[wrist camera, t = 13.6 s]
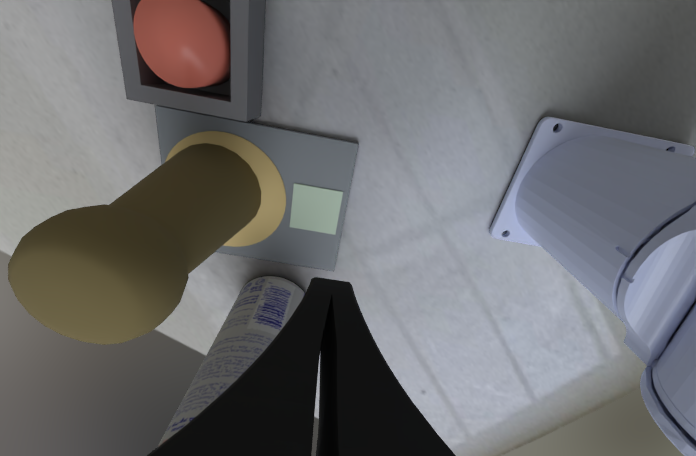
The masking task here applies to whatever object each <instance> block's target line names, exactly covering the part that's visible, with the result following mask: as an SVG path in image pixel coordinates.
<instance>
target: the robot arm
mask: <svg viewBox="0 0 696 456" xmlns="http://www.w3.org/2000/svg"><path fill="white" fill-rule="evenodd" d="M556 124H558V129H557V130H556V131H554V132H553V127H554V126H555V125H556ZM667 148H669V149H668V151H666V149H667ZM694 152H695V148H694V147H693V146H691V145H687V144H682V143H677V142H672V141H667V140H662V139H658V138H653V137H648V136H643V135H638V134H633V133H628V132H623V131H618V130H613V129H608V128H603V127H598V126H594V125H589V124H584V123H579V122H574V121H569V120H564V119H559V118H554V117H545V118H543V119H541V120H540V121H539V123H538V125H537V127H536V129H535V131H534V133H533V136H532V138H531V140H530V142H529V144H528V147H527V149H526V151H525V153H524V155H523V157H522V160H521V162H520V164H519V166H518V168H517V171H516V173H515V175H514V177H513V179H512V182H511V184H510V186H509V188H508V190H507V192H506V195H505V197H504V199H503V201H502V203H501V206H500V208H499V210H498V212H497V214H496V217H495V219H494V221H493V223H492V225H491V227H490V230H489V233H490V235H491V236H492V237H493V238H495V239H501V240H506V241H512V242H518V243H524V244H529V245H535V246H541V247H542V248H543V249H544V250H546V251H547V252H548V253H549V254H550V255H551V256H552V257H553V258H554V259H555V260H556V261H557V262H559V263H560V264H561V265H562V266H563V267H564V268H565V269H566V270H567V271H568V272H569V273H570V274H572V275H573V276H574V277H575V278H576V279H577V280H578V281H579V282H580V283H581V284H582V285H583V286H584V287H586V288H587V289H588V290H589V291H590V292H591V293H592V294H593V295H594V296H595V297H596V298H597V299H599V300H600V301H601V302H602V303H603V304H604V305H605V306H606V307H607V308H608V309H609V310H610V311H612V312H613V313H614V314H615V315H616V316H617V317H618V318H619V319H620V320H621V321H622V322H623V323H624V324H625V326H626V329H627V333H626V337H625V339H624V343H625V344H626V345H627V346H628V347H629V348H630V349H631V350H632V351H633V352H634V353H635V354H636V355H637V356H638V357H639V358H640V359H641V360H642V361H643V362H644V363H645V364H646V365H647V367H646V368H645V370H644V371H643V373H642V376H641V382H640V387H641V394H642V397H643V400H644V402H645V405H646V407H647V409H648V411H649V412H650V414H651V416H652V418H653V419H654V421H655V422H656V423H657V425H658V426H659V427H660V429H661V430H662V431H663V433H664V434H665V435H666V437H667V438H668V439H669V440H670V441H671V442H672V443H673V444H674V445H675V447H676V448H677V449H678V450H679V451H680V452H681V453H682V454H683V455H684V456H696V158H695V157H692V156H693V154H694ZM504 231H507V232H506V233H505V234H502V233H503V232H504ZM320 351H321V354H320ZM319 355H320V399H319V429H318V440H317V450H316V456H455V454H454V453H453V452H452V451H451V450H450V448H449V447H448V446H447V445H446V444H445V443H444V441H443V440H442V439H441V438H440V437H439V435H438V434H437V433H436V432H435V431H434V429H433V428H432V427H431V425H430V424H429V423H428V421H427V420H426V419H425V418H424V416H423V415H422V414H421V412H420V411H419V410H418V408H417V407H416V406H415V405H414V403H413V402H412V401H411V399H410V398H409V396H408V395H407V393H406V392H405V391H404V389H403V388H402V386H401V385H400V383H399V382H398V380H397V379H396V377H395V376H394V374H393V372H392V371H391V369H390V368H389V366H388V364H387V363H386V361H385V359H384V357H383V356H382V354H381V352H380V350H379V348H378V347H377V345H376V343H375V341H374V339H373V337H372V335H371V333H370V331H369V329H368V326H367V324H366V322H365V320H364V318H363V315H362V313H361V311H360V308H359V305H358V303H357V300H356V297H355V294H354V291H353V288H352V285H351V284H350V282H344V281H337V280H331V279H324V278H317V277H314V278H313V279H311V282H310V285H309V287H308V289H307V291H306V293H305V295H304V297H303V299H302V300H301V302H300V304H299V305H298V307H297V308H296V310H295V311H294V313H293V314H292V316H291V317H290V319H289V320H288V322H287V323H286V324H285V326H284V327H283V328H282V329H281V331H280V332H279V333H278V335H277V336H276V337H275V339H274V340H273V341H272V342H271V343H270V345H269V346H268V347H267V348H266V349H265V350H264V352H263V353H262V354H261V355H260V356H259V357H258V358H257V359H256V360H255V362H254V363H253V364H252V365H251V366H250V367H249V368H248V369H247V370H246V371H245V372H244V373H243V374H242V375H241V376H240V377H239V378H238V379H237V380H236V381H235V382H234V383H233V384H232V385H231V386H230V387H229V388H228V389H227V390H225V391H224V392H223V393H222V394H221V395H220V396H219V397H218V398H217V399H215V400H214V401H213V402H212V403H211V404H210V405H209V406H207V407H206V408H205V409H204V410H203V411H202V412H201V413H199V414H198V415H197V416H196V417H195V418H194V419H193V420H191V421H190V422H189V423H188V424H187V425H185V426H184V427H183V428H182V429H180V430H179V431H178V432H177V433H175V434H174V435H173V436H171V437H170V438H169V439H168V440H166V441H165V442H164V443H162V444H161V445H160V446H159V447H157V448H156V449H155V450H153V451H152V452H151V453H150V454H149V455H147V456H311V451H312V437H313V423H314V411H315V398H316V387H317V375H318V364H319Z"/></svg>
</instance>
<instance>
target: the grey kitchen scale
mask: <svg viewBox="0 0 696 456" xmlns="http://www.w3.org/2000/svg"><path fill="white" fill-rule="evenodd" d="M155 112H156V121H157V129H158V138H159V147H160V155H161V164H164V163H165V162H166V161H168V160H169V159H170V158H172V157H173V156H174V155H176V154H177V153H178V152H180V151H181V150H183V149H185V148H187V147H188V146H190V145H195V144H202V143H209V144H214V145H220V146H223V147H225V148H227V149H229V150H231V151H233V152H235V153H237V154H238V155H239V156H240V157H241V158H242V159H243V160H245V161H246V162H247V163H248V164H249V165H250V167H251V169H252V170H253V172H254V173H255V175H256V176H257V178H258V182H259V185H260V189H261V205H260V208H259V210H258V212H257V215H256V216H255V217H254V218H253V219H252V220H251V222H250V223H249V224H248V225H246V226H245V227H244V228H243V229H242V230H240V231H239V232H238V233H237V234H236V235H234V236H233V237H232V238H231V239H230V240H228V241H227V242H226V243H225V244H224V245H222V246H221V247H220V248H219V249H218V250H216V251H215V252H219V253H225V254H231V255H237V256H243V257H249V258H255V259H262V260H268V261H274V262H280V263H286V264H292V265H298V266H305V267H311V268H317V269H323V270H329V271H334V269H335V264H336V258H337V253H338V248H339V243H340V238H341V233H342V227H343V222H344V217H345V212H346V207H347V202H348V196H349V191H350V186H351V181H352V176H353V170H354V165H355V160H356V155H357V150H358V145H359V143H356V142H351V141H345V140H340V139H335V138H330V137H324V136H319V135H314V134H308V133H303V132H298V131H293V130H287V129H282V128H277V127H272V126H266V125H261V124H256V123H250V122H245V121H239V120H234V119H229V118H224V117H218V116H213V115H208V114H203V113H197V112H192V111H187V110H181V109H176V108H171V107H166V106H160V105H156V106H155Z"/></svg>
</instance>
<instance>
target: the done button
mask: <svg viewBox="0 0 696 456" xmlns="http://www.w3.org/2000/svg"><path fill="white" fill-rule="evenodd" d="M133 27H134V36H135V40H136V44H137V47H138V49H139V52H140V54H141V55H142V57H143V59H144V61H145V62H146V64H147V65H148V66H149V67H150V69H151V70H152V71H153V72H154V73H155V74H156V75H157V76H159V77H160V78H161V79H163V80H164V81H166V82H168V83H169V84H172V85H174V86H177V87H182V88H198V87H211V86H218V85H221V84H223V83H224V82H226V81H227V80H229V78H230V77H231V38H230V23H229V22H228V20H227V19H226V18H225V17H224V15H223V14H222V13H221V12H219V11H218V10H217V9H216V8H214V7H212V6H211V5H209V4H207V3H205V2H203V1H201V0H141V1H140V2H139V4H138V6H137V8H136V11H135V15H134V23H133Z"/></svg>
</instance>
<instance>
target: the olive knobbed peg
mask: <svg viewBox="0 0 696 456" xmlns="http://www.w3.org/2000/svg"><path fill="white" fill-rule="evenodd" d="M260 205H261V189H260V185H259V182H258V178H257V176H256V175H255V173H254V172H253V170H252V169H251V167H250V165H249V164H248V163H247V162H246V161H245V160H243V159H242V158H241V157H240V156H239V155H238V154H237V153H235V152H233V151H231V150H229V149H227V148H225V147H223V146H220V145H214V144H209V143H202V144H195V145H190V146H188V147H187V148H185V149H183V150H181V151H180V152H178V153H177V154H176V155H174V156H173V157H172V158H170V159H169V160H168V161H166V162H165V163H164V164H162V165H161V166H160V167H158V168H157V169H156V170H154V171H153V172H152V173H151V174H149V175H148V176H147V177H145V178H144V179H143V180H141V181H140V182H139V183H137V184H136V185H135V186H133V187H132V188H131V189H129V190H128V191H127V192H126V193H124V194H123V195H122V196H120V197H119V198H118V199H116V200H115V201H114V202H112V203H111V204H110V205H97V206H90V207H83V208H77V209H71V210H67V211H64V212H62V213H60V214H58V215H55V216H53V217H51V218H49V219H47V220H46V221H44V222H42V223H41V224H39V225H37V226H35V227H34V228H33V229H32V230H31V231H29V232H28V233H27V234H26V235H25V236H23V237H22V239H21V241H20V242H19V244H18V246H17V248H16V249H15V251H14V253H13V255H12V257H11V259H10V262H9V264H8V280H9V282H10V285H11V287H12V289H13V291H14V293H15V296H16V297H17V299H18V301H19V302H20V303H21V304H22V305H23V306H24V308H25V309H26V310H27V311H28V313H29V314H31V315H32V316H33V317H34V318H35V319H37V320H38V321H39V322H41V323H42V324H43V325H44V326H46V327H48V328H50V329H52V330H54V331H55V332H57V333H59V334H61V335H64V336H67V337H70V338H73V339H76V340H79V341H83V342H89V343H96V344H103V345H105V344H117V343H123V342H126V341H128V340H131V339H134V338H136V337H139V336H141V335H144V334H146V333H149V332H151V331H152V330H153V329H155V328H156V327H157V326H158V325H160V324H161V323H162V322H163V321H164V320H165V319H166V318H167V317H168V316H169V315H170V314H171V313H172V312H173V311H174V309H175V308H176V307H177V305H178V304H179V303H180V300H181V298H182V295H183V292H184V289H185V286H186V284H187V281H188V274H189V273H190V272H191V271H192V270H194V269H195V268H196V267H197V266H198V265H200V264H201V263H202V262H203V261H204V260H206V259H207V258H208V257H209V256H210V255H212V254H213V253H214V252H215V251H216V250H218V249H219V248H220V247H221V246H222V245H224V244H225V243H226V242H227V241H228V240H230V239H231V238H232V237H233V236H234V235H236V234H237V233H238V232H239V231H240V230H242V229H243V228H244V227H245V226H246V225H248V224H249V223H250V222H251V220H252V219H253V218H254V217H255V216H256V215H257V212H258V210H259V208H260Z"/></svg>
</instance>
